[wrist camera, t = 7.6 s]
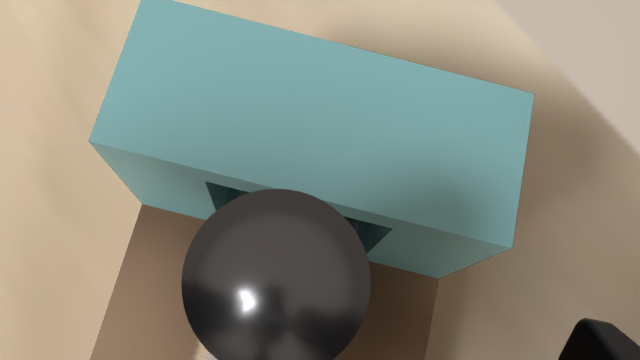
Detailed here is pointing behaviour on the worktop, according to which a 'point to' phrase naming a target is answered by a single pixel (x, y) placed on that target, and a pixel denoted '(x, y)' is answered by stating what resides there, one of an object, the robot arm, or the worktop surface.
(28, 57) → the worktop surface
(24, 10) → the worktop surface
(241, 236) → the slip tube
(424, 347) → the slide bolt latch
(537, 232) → the worktop surface
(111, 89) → the socket block
